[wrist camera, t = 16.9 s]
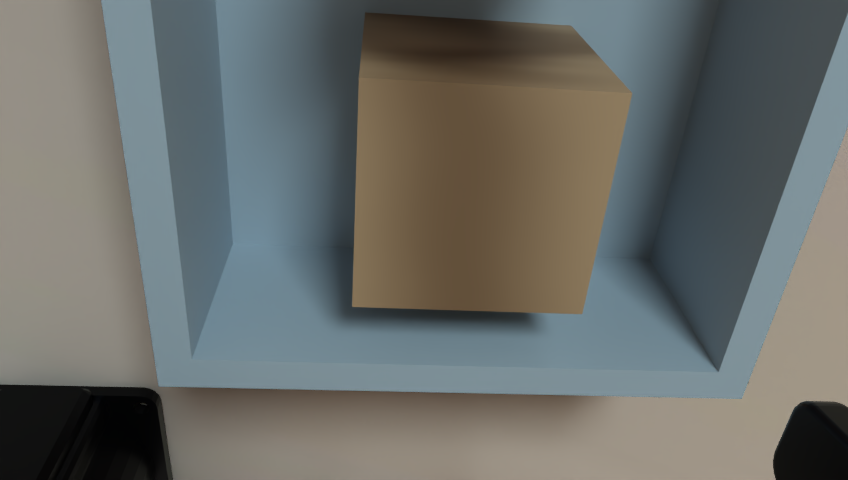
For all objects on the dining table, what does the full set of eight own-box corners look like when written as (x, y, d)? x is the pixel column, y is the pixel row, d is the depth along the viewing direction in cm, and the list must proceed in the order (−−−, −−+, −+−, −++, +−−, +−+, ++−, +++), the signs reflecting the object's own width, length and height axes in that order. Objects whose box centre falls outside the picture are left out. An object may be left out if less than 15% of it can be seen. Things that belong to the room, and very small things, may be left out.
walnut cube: (571, 25, 18) (632, 93, 13) (539, 207, 20) (582, 314, 16) (365, 11, 17) (358, 77, 13) (359, 199, 20) (352, 306, 15)
